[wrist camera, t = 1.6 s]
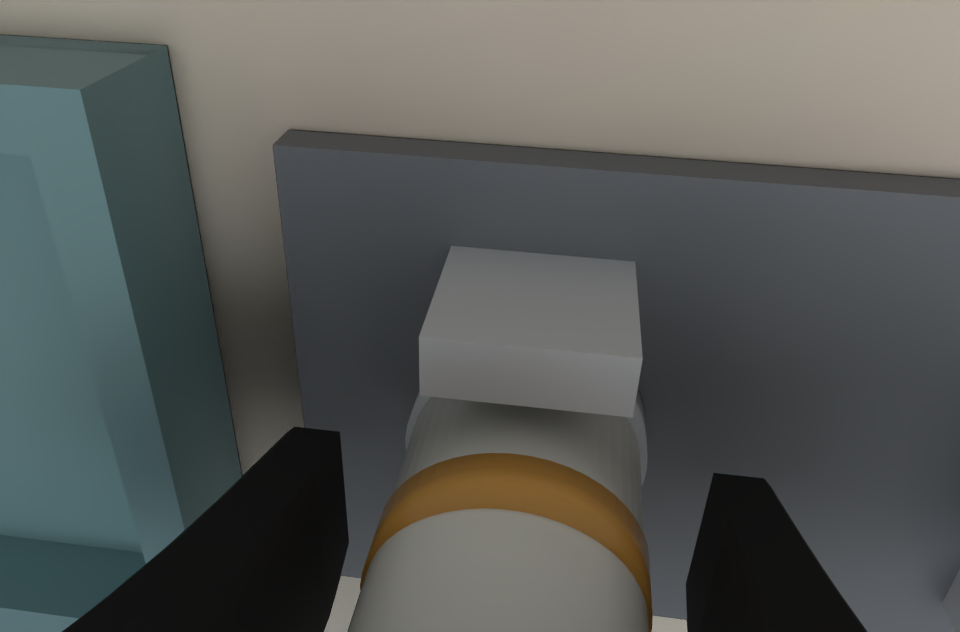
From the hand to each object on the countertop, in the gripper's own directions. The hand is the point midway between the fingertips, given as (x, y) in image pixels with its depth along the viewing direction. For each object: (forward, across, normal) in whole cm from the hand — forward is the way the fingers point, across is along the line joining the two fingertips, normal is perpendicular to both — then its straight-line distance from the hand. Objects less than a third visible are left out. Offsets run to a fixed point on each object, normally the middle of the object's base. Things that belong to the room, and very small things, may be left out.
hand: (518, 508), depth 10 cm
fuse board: (+2, -4, 0) cm, 5 cm away
